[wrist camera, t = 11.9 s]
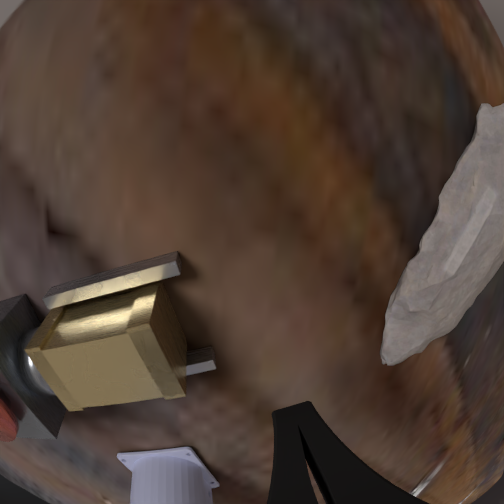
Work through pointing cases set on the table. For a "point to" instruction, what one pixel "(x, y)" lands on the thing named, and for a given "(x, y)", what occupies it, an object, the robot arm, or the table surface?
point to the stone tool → (453, 247)
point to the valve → (27, 323)
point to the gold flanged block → (112, 349)
